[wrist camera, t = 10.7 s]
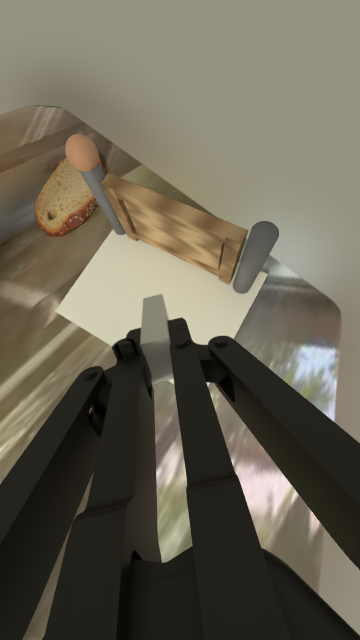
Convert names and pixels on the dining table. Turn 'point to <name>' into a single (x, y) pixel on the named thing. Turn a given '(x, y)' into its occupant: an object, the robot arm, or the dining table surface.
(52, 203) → the slice of bread
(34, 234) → the dining table surface
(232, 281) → the gate frame
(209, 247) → the gate
